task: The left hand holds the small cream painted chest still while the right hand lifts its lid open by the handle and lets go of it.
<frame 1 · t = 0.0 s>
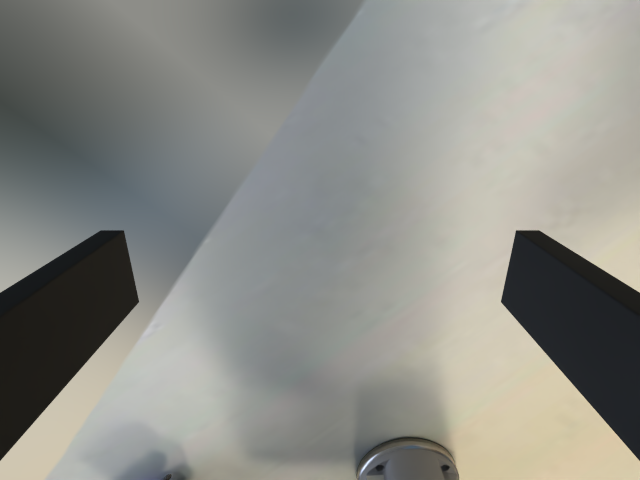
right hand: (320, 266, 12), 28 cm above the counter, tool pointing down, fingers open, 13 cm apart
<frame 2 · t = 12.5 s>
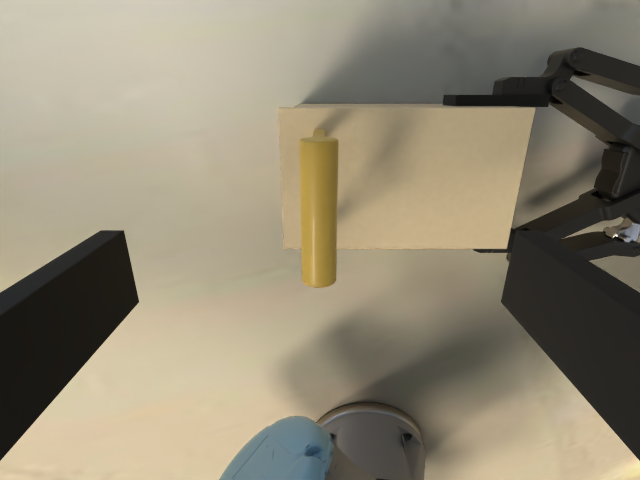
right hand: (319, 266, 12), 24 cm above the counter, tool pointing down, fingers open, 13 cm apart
left hand: (440, 171, 28), fingers closed on chest, 10 cm apart
chest: (381, 157, 35), on the counter, touching left hand
lid: (412, 196, 21), point 14 cm above the counter, hinge at 0.0°
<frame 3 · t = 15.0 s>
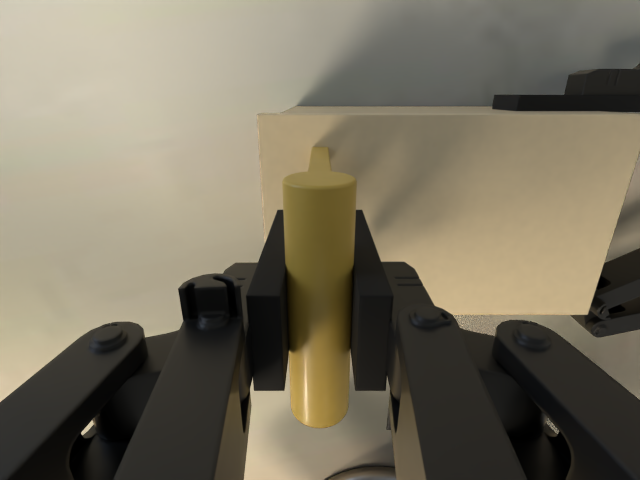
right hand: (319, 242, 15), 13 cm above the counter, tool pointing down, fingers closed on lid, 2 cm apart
chest: (400, 175, 27), on the counter, touching left hand
lid: (467, 255, 13), point 14 cm above the counter, hinge at 0.2°, touching right hand
when the left hand's fingers open (7 cm above the counter, at t = 22.4 s): chest stays where it is, on the counter.
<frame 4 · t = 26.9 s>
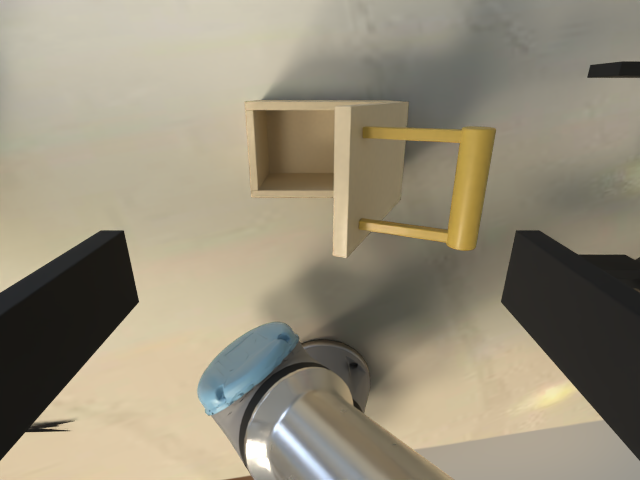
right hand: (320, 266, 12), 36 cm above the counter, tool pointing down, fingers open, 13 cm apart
chest: (322, 140, 46), on the counter
lid: (425, 169, 28), point 19 cm above the counter, hinge at 65.7°
feather: (4, 428, 65), on the counter
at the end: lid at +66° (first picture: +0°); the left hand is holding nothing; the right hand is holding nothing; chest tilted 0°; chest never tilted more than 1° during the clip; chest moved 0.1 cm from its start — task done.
